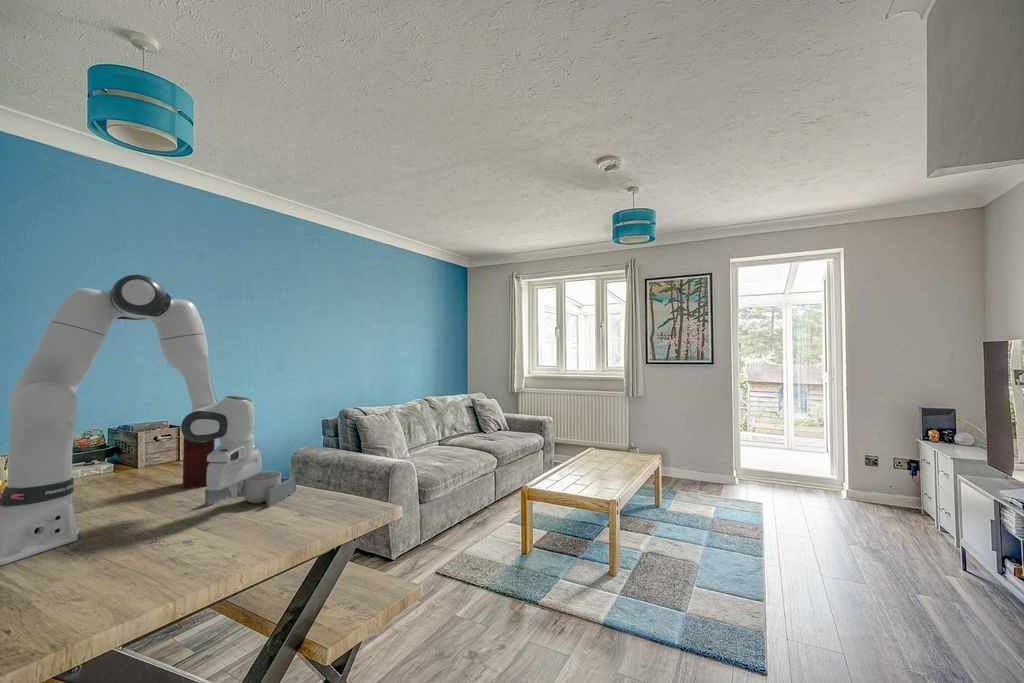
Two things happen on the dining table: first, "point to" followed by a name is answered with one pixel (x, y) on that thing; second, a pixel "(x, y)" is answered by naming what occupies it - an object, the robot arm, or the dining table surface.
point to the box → (273, 493)
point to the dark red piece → (196, 462)
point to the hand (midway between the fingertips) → (235, 497)
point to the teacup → (260, 486)
